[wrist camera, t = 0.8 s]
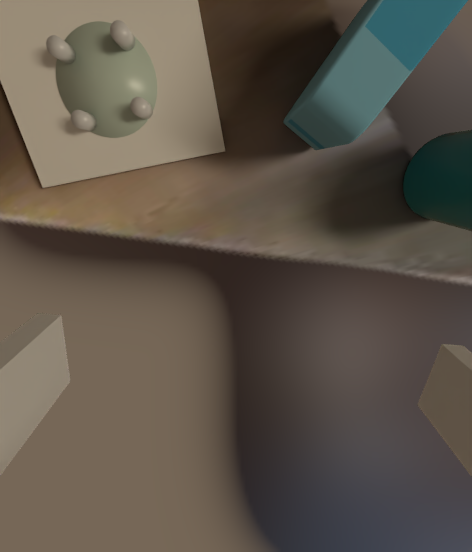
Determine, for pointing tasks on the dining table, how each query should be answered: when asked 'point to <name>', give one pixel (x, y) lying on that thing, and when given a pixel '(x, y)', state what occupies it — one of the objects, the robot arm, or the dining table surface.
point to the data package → (367, 68)
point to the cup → (442, 180)
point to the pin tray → (108, 84)
